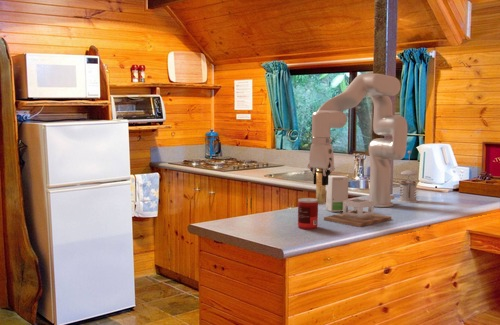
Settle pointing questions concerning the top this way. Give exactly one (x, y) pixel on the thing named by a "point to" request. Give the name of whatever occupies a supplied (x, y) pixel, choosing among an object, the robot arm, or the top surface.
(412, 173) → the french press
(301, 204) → the canned food
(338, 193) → the skincare box
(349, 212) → the collar cage
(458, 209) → the top surface
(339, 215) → the stand board
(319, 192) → the brass tube
